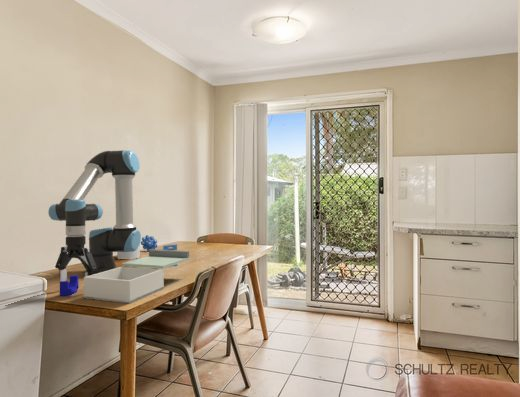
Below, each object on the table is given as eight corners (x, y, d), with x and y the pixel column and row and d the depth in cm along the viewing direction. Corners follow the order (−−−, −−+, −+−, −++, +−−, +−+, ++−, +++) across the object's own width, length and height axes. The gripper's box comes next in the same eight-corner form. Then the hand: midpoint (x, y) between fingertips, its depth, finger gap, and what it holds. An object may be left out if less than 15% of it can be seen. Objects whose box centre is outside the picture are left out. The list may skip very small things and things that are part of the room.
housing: (83, 298, 142) (83, 277, 141) (122, 285, 162) (121, 266, 162) (130, 303, 134) (129, 281, 134) (163, 288, 155) (163, 269, 155)
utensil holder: (135, 260, 226) (135, 232, 226) (112, 260, 226) (112, 232, 226) (143, 256, 241) (143, 230, 241) (121, 256, 241) (121, 230, 241)
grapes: (140, 252, 254) (140, 236, 254) (140, 251, 261) (140, 235, 261) (157, 252, 258) (157, 235, 258) (157, 250, 264) (157, 234, 264)
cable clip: (71, 296, 146) (71, 281, 146) (59, 296, 145) (59, 282, 145) (82, 288, 158) (81, 275, 157) (71, 289, 157) (71, 275, 157)
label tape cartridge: (174, 264, 210) (173, 243, 210) (177, 265, 207) (177, 244, 207) (160, 266, 204) (160, 245, 204) (163, 267, 201) (163, 245, 201)
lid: (121, 265, 162) (121, 256, 162) (151, 257, 183) (151, 249, 183) (163, 268, 155) (163, 258, 155) (189, 259, 176) (189, 251, 176)
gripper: (45, 236, 152) (45, 285, 152) (92, 237, 144) (92, 290, 144) (60, 234, 159) (60, 282, 159) (105, 235, 151) (106, 286, 151)
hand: (75, 286), depth 151 cm, fingers open, 13 cm apart
